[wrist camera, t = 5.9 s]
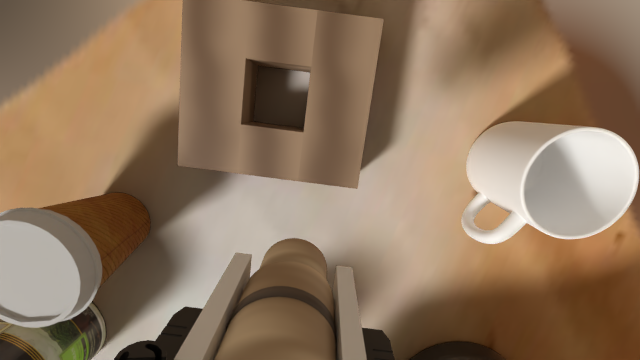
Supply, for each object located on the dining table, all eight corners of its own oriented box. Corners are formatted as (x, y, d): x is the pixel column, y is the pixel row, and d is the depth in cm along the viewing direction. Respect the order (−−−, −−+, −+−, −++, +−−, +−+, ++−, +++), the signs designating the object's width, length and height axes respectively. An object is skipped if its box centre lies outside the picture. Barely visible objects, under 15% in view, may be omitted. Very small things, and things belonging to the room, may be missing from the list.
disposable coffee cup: (67, 240, 36) (-56, 303, 25) (91, 162, 34) (-30, 191, 23) (149, 274, 37) (67, 351, 25) (177, 200, 35) (103, 247, 23)
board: (374, 32, 31) (383, 18, 26) (352, 176, 34) (357, 188, 29) (205, 10, 31) (183, -8, 26) (198, 157, 34) (177, 165, 29)
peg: (338, 237, 17) (368, 545, 5) (327, 307, 18) (332, 696, 6) (259, 227, 17) (110, 515, 5) (252, 297, 18) (114, 673, 6)
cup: (563, 159, 33) (664, 181, 23) (474, 241, 35) (532, 293, 26) (509, 102, 32) (590, 101, 22) (420, 190, 34) (458, 225, 24)
